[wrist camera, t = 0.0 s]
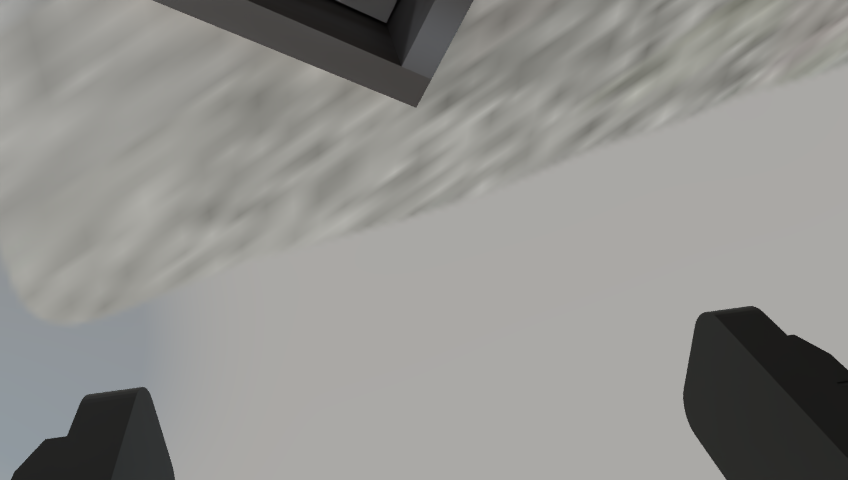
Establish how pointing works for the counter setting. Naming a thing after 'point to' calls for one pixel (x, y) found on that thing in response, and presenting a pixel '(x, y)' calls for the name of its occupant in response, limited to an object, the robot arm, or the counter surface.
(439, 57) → the socket board
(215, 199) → the counter surface
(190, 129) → the counter surface
